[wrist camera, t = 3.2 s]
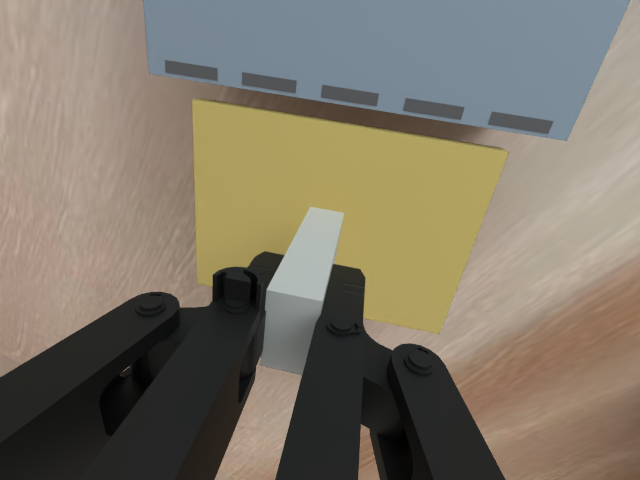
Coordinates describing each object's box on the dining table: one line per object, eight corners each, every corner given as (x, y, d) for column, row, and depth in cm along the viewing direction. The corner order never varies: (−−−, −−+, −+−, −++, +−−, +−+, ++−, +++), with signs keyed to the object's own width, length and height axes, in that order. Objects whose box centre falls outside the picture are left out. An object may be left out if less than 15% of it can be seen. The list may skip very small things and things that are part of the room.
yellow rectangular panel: (202, 98, 16) (192, 99, 15) (501, 148, 15) (508, 152, 14) (204, 274, 21) (197, 283, 20) (436, 322, 20) (439, 333, 19)
